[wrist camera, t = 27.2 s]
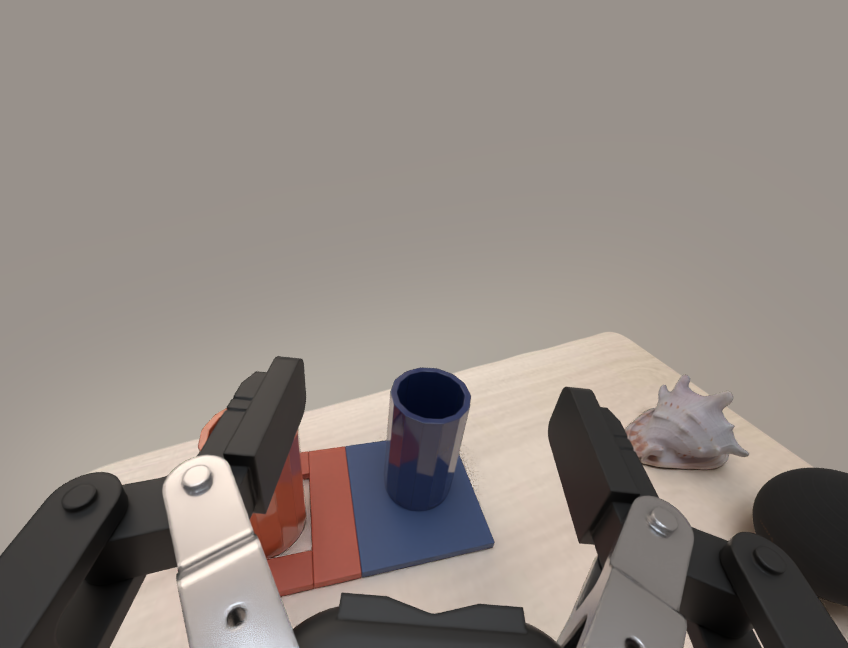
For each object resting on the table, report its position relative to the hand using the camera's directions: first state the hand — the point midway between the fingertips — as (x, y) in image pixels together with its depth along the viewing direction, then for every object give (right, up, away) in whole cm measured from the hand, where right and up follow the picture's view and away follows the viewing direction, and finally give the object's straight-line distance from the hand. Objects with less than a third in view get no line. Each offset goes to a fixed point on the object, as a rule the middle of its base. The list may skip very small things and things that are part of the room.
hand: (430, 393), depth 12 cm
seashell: (+28, -12, +33) cm, 45 cm away
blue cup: (-1, -12, +25) cm, 28 cm away
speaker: (+32, -19, +23) cm, 44 cm away
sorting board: (-7, -14, +23) cm, 28 cm away
